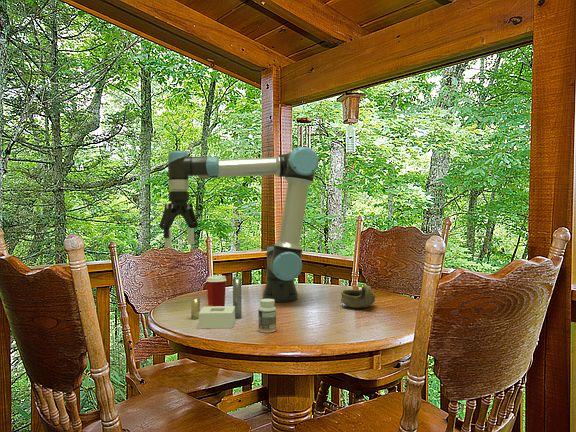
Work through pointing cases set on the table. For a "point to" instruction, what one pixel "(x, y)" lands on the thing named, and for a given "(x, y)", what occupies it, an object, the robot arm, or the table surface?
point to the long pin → (237, 298)
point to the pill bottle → (267, 316)
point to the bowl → (358, 297)
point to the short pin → (195, 308)
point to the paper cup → (216, 290)
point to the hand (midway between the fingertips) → (180, 245)
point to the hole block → (217, 317)
